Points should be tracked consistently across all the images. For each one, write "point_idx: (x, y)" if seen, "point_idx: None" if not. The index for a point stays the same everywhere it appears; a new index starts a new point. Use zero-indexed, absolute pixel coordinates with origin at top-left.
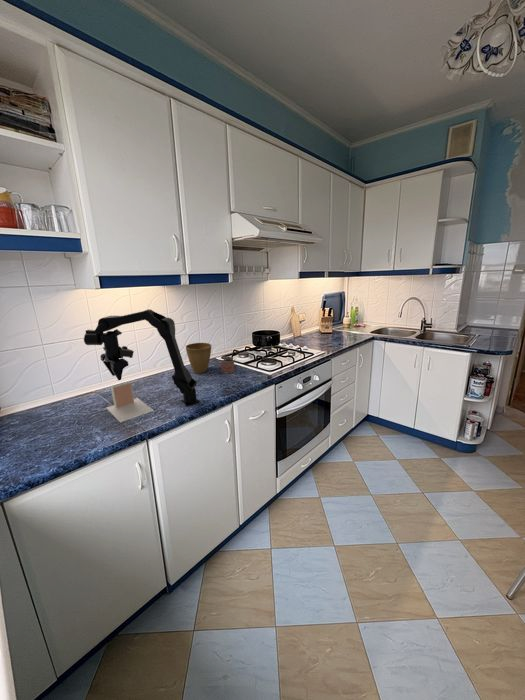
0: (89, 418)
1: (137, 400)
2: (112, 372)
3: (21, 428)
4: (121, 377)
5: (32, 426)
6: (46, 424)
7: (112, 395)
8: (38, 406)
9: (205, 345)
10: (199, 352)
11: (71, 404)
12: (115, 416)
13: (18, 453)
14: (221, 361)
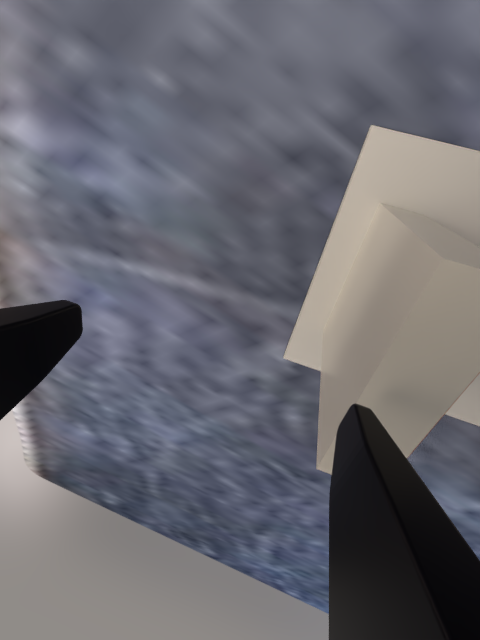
0: (304, 440)
1: (422, 169)
2: (29, 370)
3: (165, 516)
4: (396, 444)
5: (177, 507)
6: (200, 495)
7: (321, 387)
8: (27, 422)
9: None
10: None
11: (87, 377)
12: (454, 413)
13: (312, 592)
14: None
